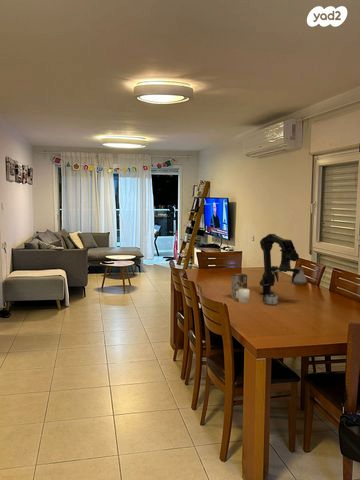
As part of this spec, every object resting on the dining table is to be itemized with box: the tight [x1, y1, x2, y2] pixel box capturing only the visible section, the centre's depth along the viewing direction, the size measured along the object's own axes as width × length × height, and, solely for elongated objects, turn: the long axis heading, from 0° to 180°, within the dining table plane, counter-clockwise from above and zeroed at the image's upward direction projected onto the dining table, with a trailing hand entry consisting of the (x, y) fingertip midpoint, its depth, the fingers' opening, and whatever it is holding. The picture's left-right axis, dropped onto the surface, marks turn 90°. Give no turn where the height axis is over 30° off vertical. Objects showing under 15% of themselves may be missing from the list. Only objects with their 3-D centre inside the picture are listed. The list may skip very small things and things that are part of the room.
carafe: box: [262, 294, 279, 306], centre depth 266 cm, size 7×10×5 cm
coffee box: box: [230, 273, 248, 300], centre depth 281 cm, size 9×6×16 cm
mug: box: [236, 288, 250, 304], centre depth 272 cm, size 7×9×8 cm
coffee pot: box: [292, 266, 308, 286], centre depth 330 cm, size 21×12×15 cm, turn 88°
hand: (284, 282), depth 270 cm, fingers open, 9 cm apart
